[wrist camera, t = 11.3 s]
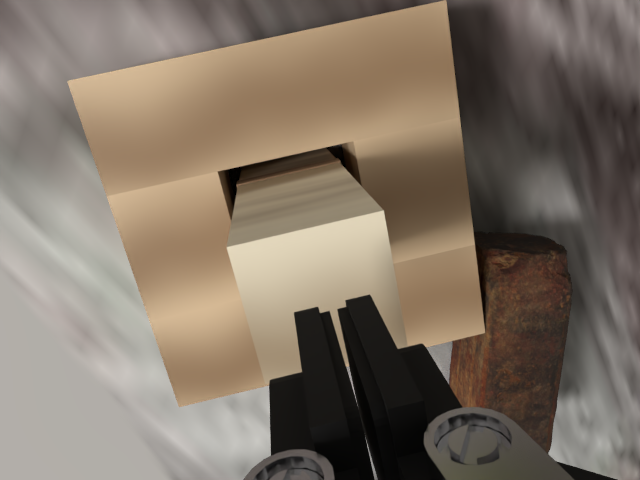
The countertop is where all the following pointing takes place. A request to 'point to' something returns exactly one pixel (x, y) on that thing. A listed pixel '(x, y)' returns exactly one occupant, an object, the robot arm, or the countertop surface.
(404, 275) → the seat board
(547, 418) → the brick
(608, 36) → the countertop surface
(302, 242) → the peg
